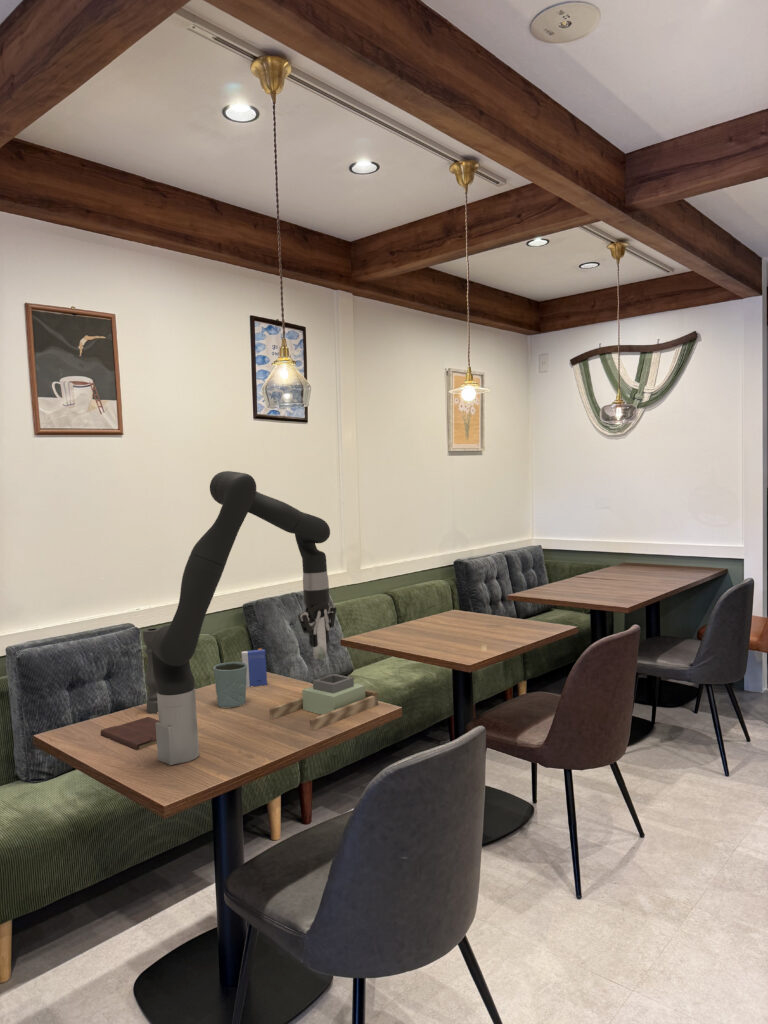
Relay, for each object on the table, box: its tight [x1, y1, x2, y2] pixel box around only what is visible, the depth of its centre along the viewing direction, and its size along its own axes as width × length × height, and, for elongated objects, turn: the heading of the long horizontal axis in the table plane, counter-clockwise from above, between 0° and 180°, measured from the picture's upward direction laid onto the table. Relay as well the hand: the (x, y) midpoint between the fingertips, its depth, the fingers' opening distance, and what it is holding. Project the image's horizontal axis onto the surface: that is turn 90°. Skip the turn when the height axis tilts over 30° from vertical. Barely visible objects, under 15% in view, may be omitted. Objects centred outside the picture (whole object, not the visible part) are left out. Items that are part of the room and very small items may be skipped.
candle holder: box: [142, 627, 161, 714], centre depth 223 cm, size 6×6×25 cm
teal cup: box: [213, 661, 247, 709], centre depth 226 cm, size 10×10×12 cm
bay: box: [268, 689, 379, 732], centre depth 211 cm, size 26×18×5 cm
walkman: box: [241, 648, 268, 688], centre depth 246 cm, size 8×3×12 cm, turn 105°
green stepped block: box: [301, 673, 366, 715], centre depth 214 cm, size 13×13×8 cm
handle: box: [311, 617, 328, 660], centre depth 214 cm, size 4×4×12 cm
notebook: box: [100, 716, 159, 751], centre depth 203 cm, size 15×20×2 cm
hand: (319, 644), depth 215 cm, fingers closed on handle, 4 cm apart
